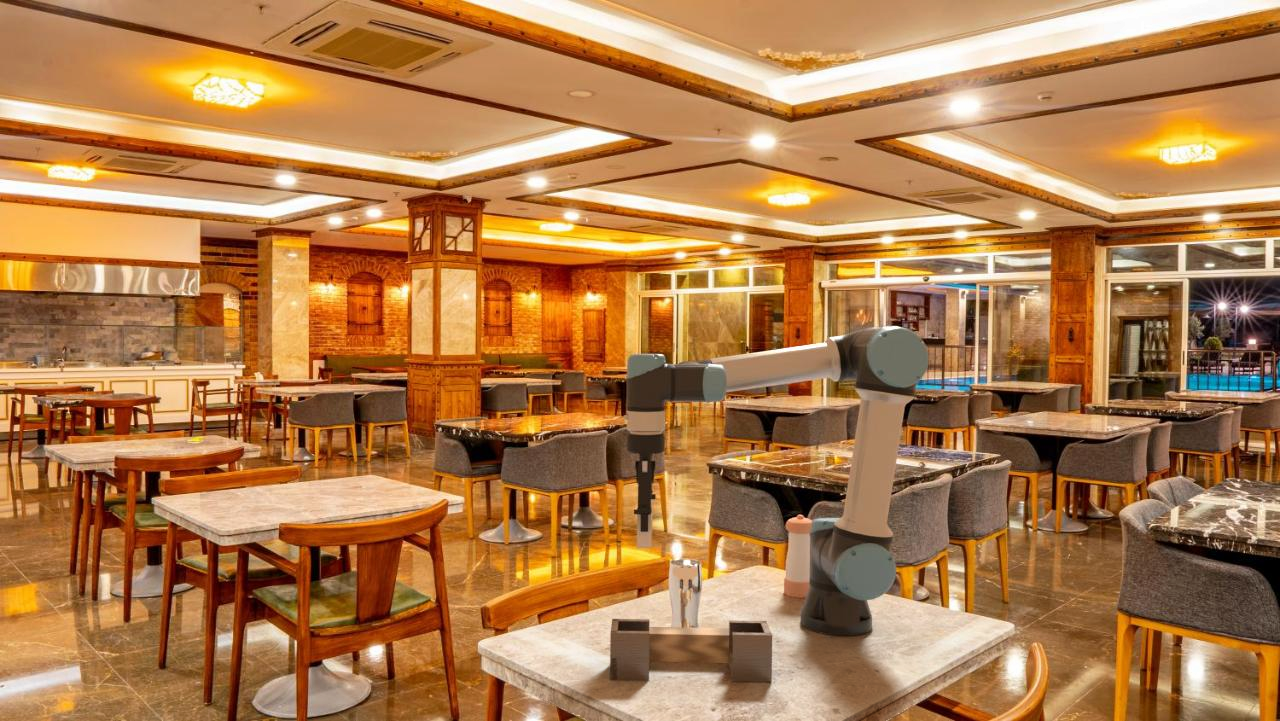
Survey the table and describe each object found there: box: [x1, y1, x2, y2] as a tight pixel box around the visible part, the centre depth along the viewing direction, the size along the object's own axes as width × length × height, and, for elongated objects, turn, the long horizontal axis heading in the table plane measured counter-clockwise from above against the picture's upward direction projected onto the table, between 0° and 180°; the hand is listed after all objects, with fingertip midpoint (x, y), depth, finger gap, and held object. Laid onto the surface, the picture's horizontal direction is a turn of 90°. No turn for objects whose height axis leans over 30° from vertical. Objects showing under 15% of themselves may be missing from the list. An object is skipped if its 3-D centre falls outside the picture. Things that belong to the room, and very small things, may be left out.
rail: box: [649, 626, 729, 664], centre depth 168 cm, size 22×4×6 cm, turn 89°
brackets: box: [609, 618, 773, 683], centre depth 161 cm, size 29×8×8 cm, turn 89°
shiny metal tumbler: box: [668, 557, 703, 628], centre depth 182 cm, size 7×7×15 cm
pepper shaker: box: [783, 514, 813, 599], centre depth 212 cm, size 7×7×19 cm
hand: (645, 540), depth 172 cm, fingers open, 13 cm apart
